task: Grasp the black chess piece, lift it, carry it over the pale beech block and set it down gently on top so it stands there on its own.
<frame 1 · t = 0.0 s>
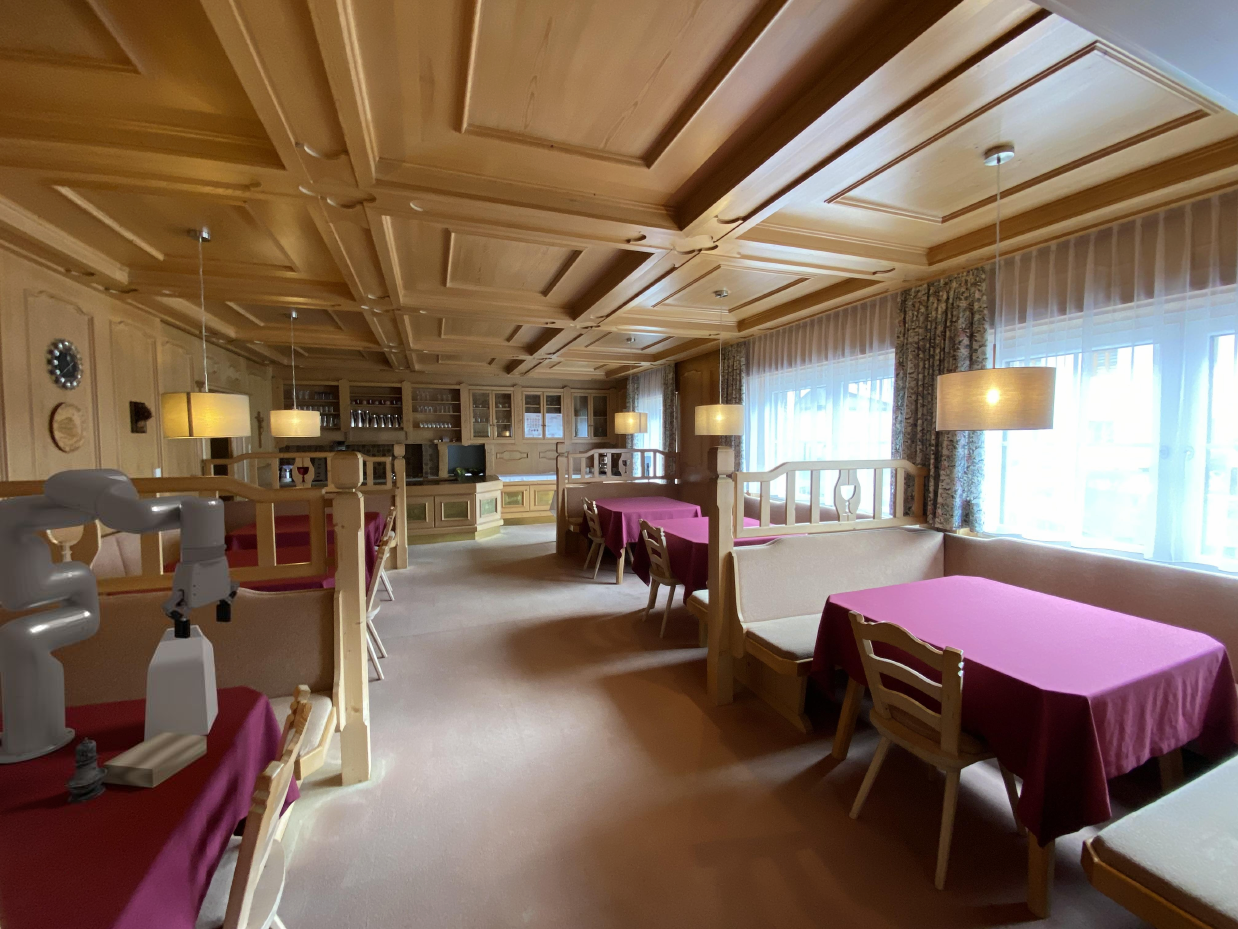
hand: (203, 629, 111), 31 cm above the table, fingers open, 9 cm apart
black chess piece: (87, 795, 103), on the table
beech block: (157, 766, 111), on the table
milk: (183, 729, 126), on the table
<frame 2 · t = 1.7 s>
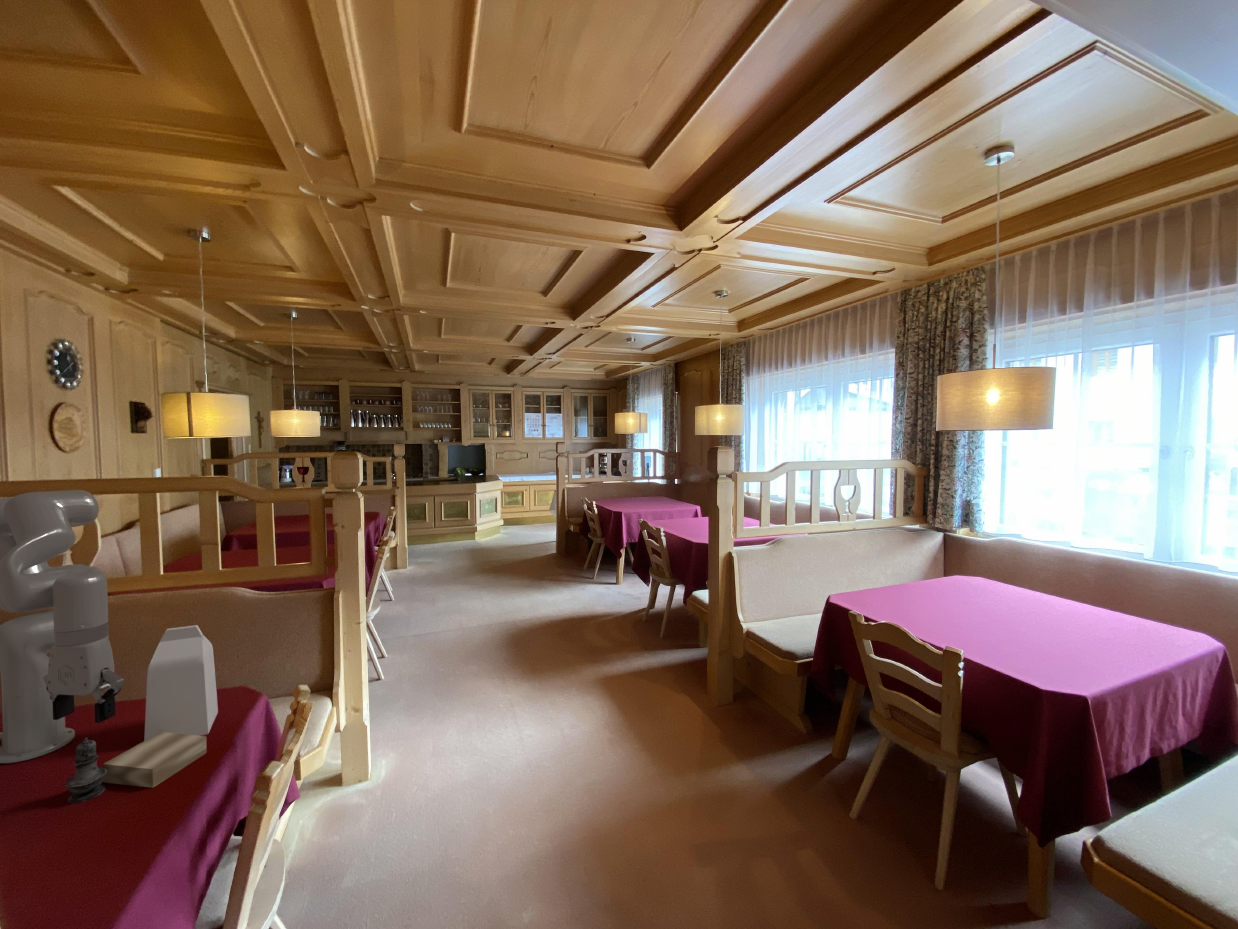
hand: (84, 718, 101), 16 cm above the table, fingers open, 9 cm apart
nothing on the table moved.
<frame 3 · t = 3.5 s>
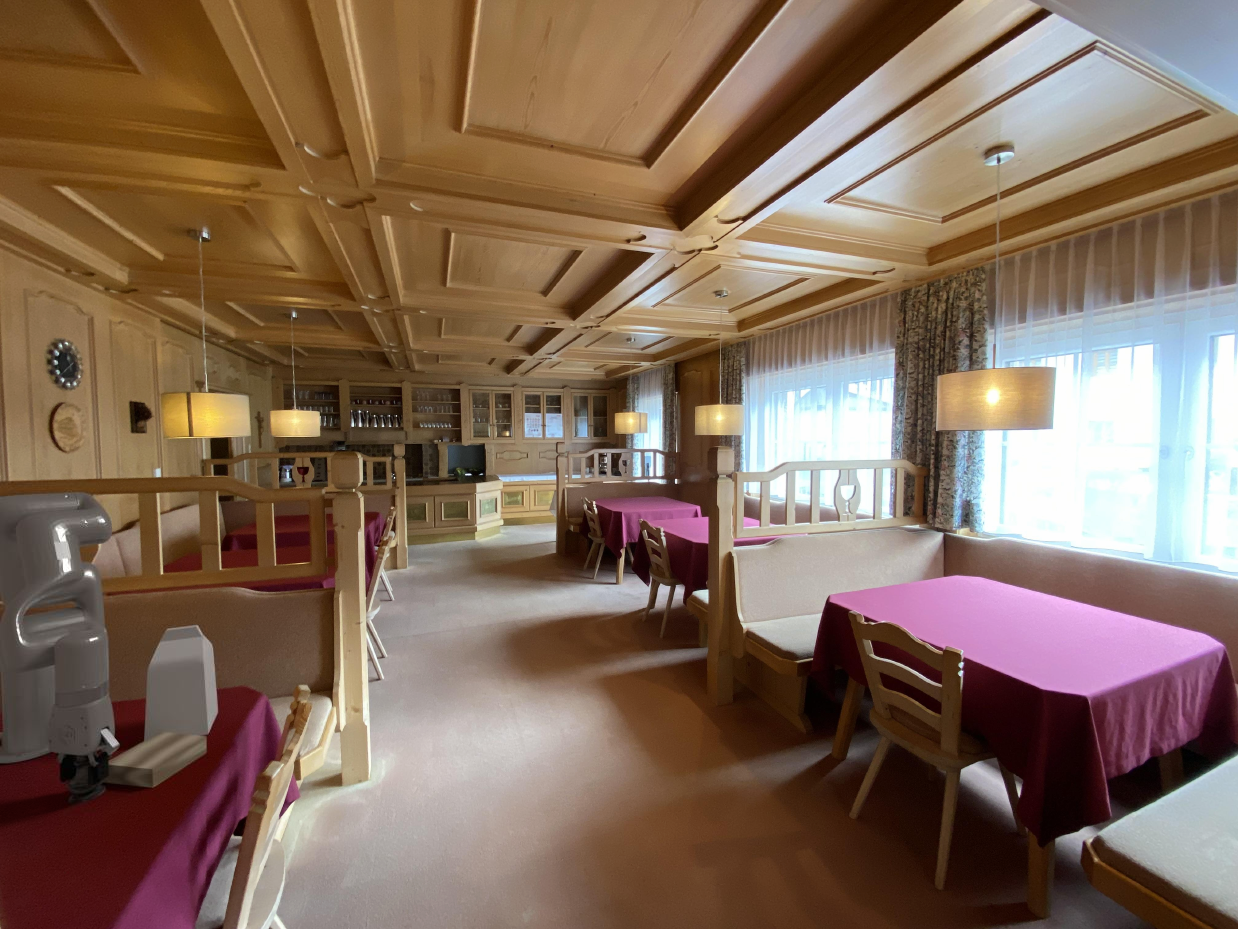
hand: (84, 778, 102), 4 cm above the table, fingers closed on black chess piece, 5 cm apart
black chess piece: (87, 795, 103), on the table, touching gripper
everything else where it was.
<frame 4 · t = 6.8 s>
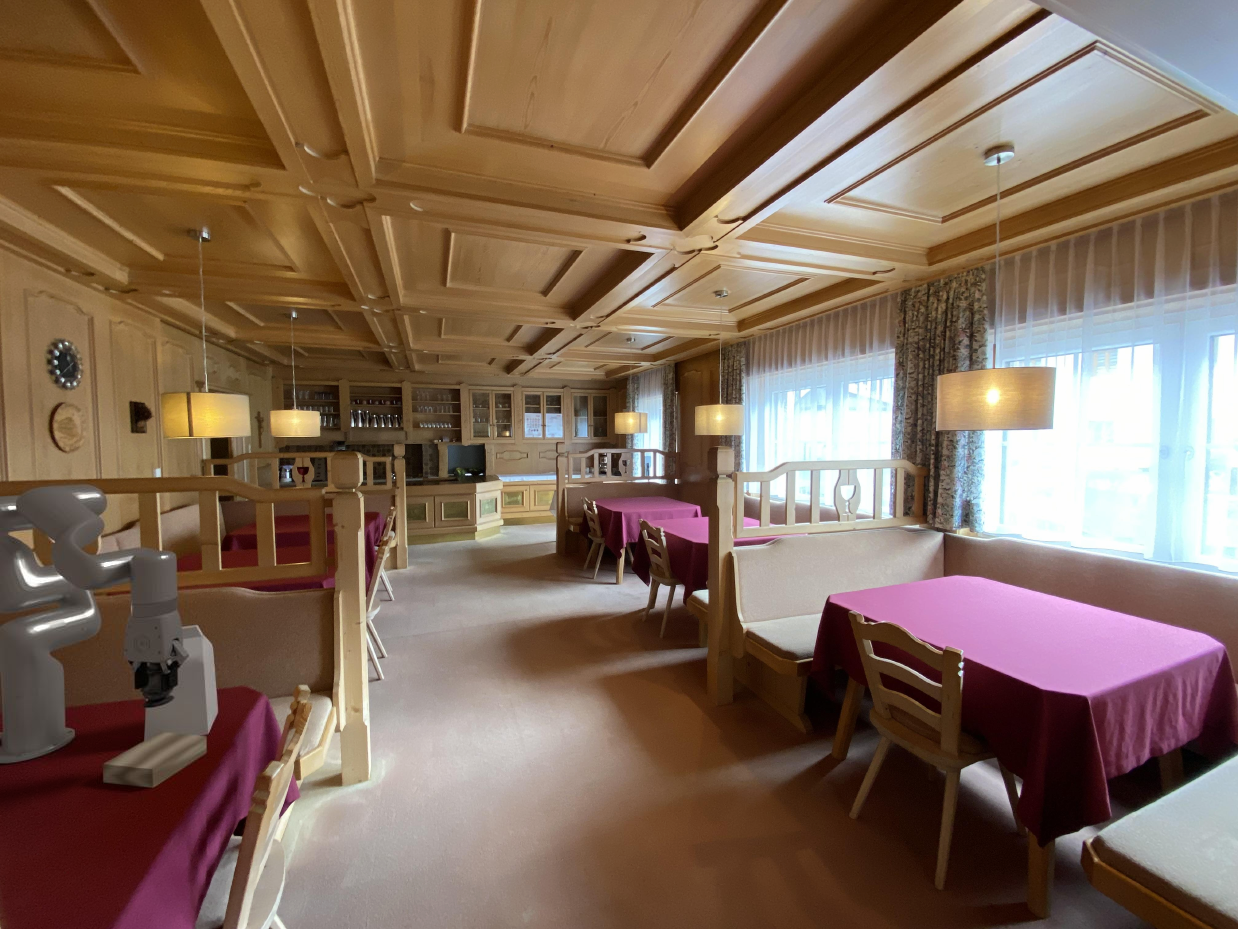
hand: (156, 686, 111), 18 cm above the table, fingers closed on black chess piece, 5 cm apart
black chess piece: (158, 702, 111), point 15 cm above the table, touching gripper
everything else where it was.
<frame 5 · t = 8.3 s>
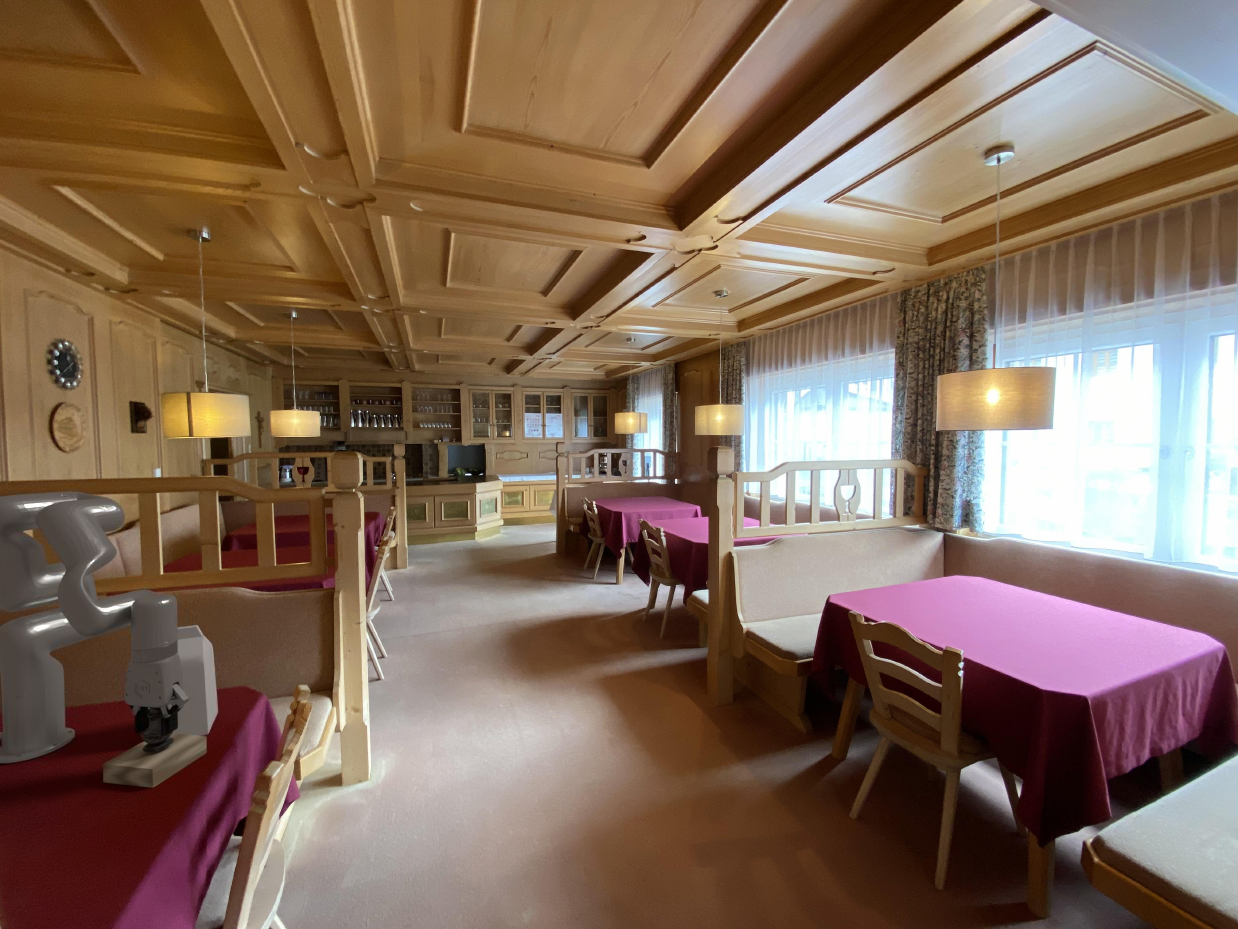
hand: (156, 730, 111), 8 cm above the table, fingers closed on black chess piece, 5 cm apart
black chess piece: (158, 745, 112), point 5 cm above the table, touching gripper
everything else where it was.
when the fingers open (8 cm above the table, at t = 9.7 s): black chess piece stays where it is, resting on beech block.
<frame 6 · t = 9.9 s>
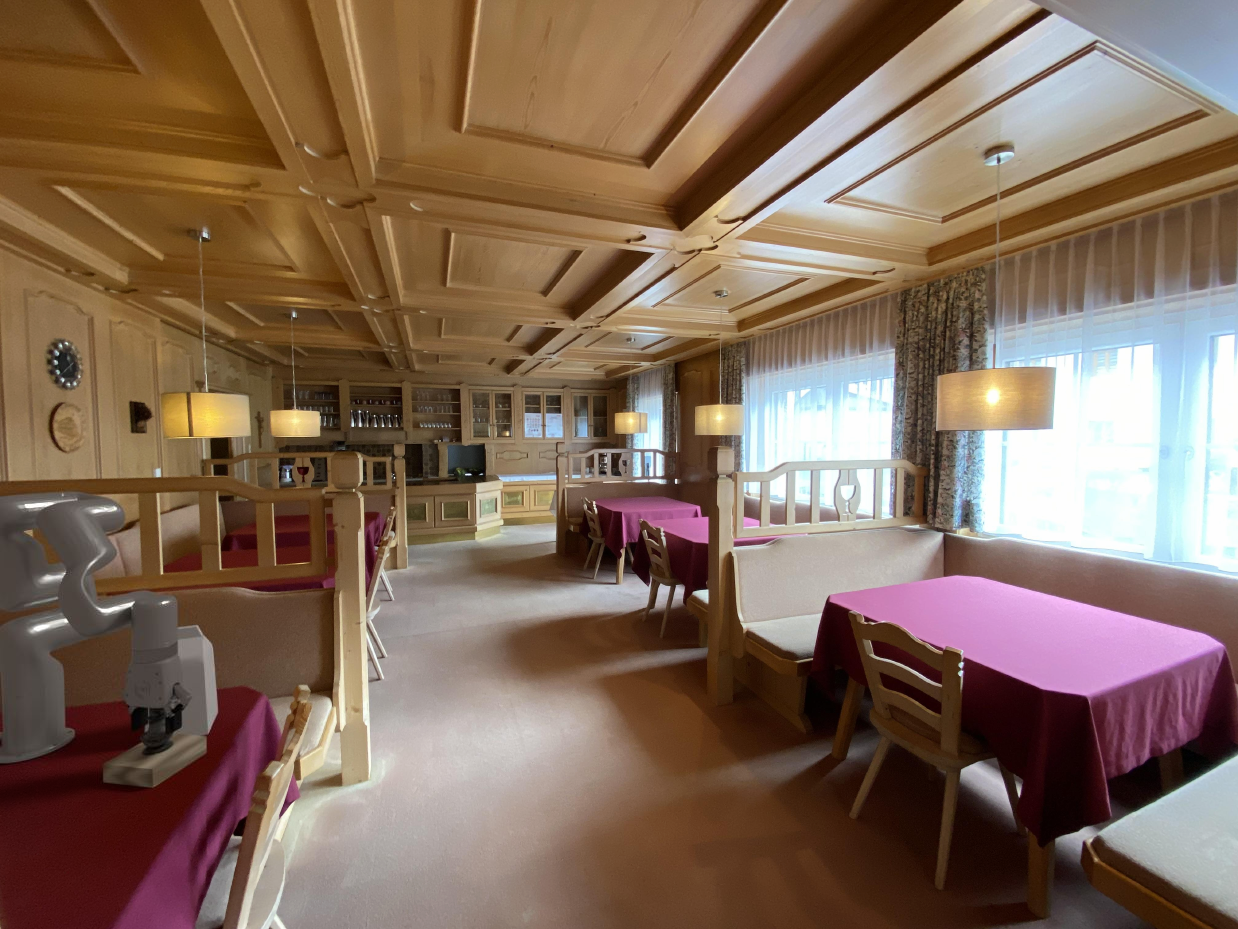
hand: (156, 729, 111), 9 cm above the table, fingers open, 8 cm apart
black chess piece: (158, 749, 112), point 4 cm above the table, touching beech block
everything else where it was.
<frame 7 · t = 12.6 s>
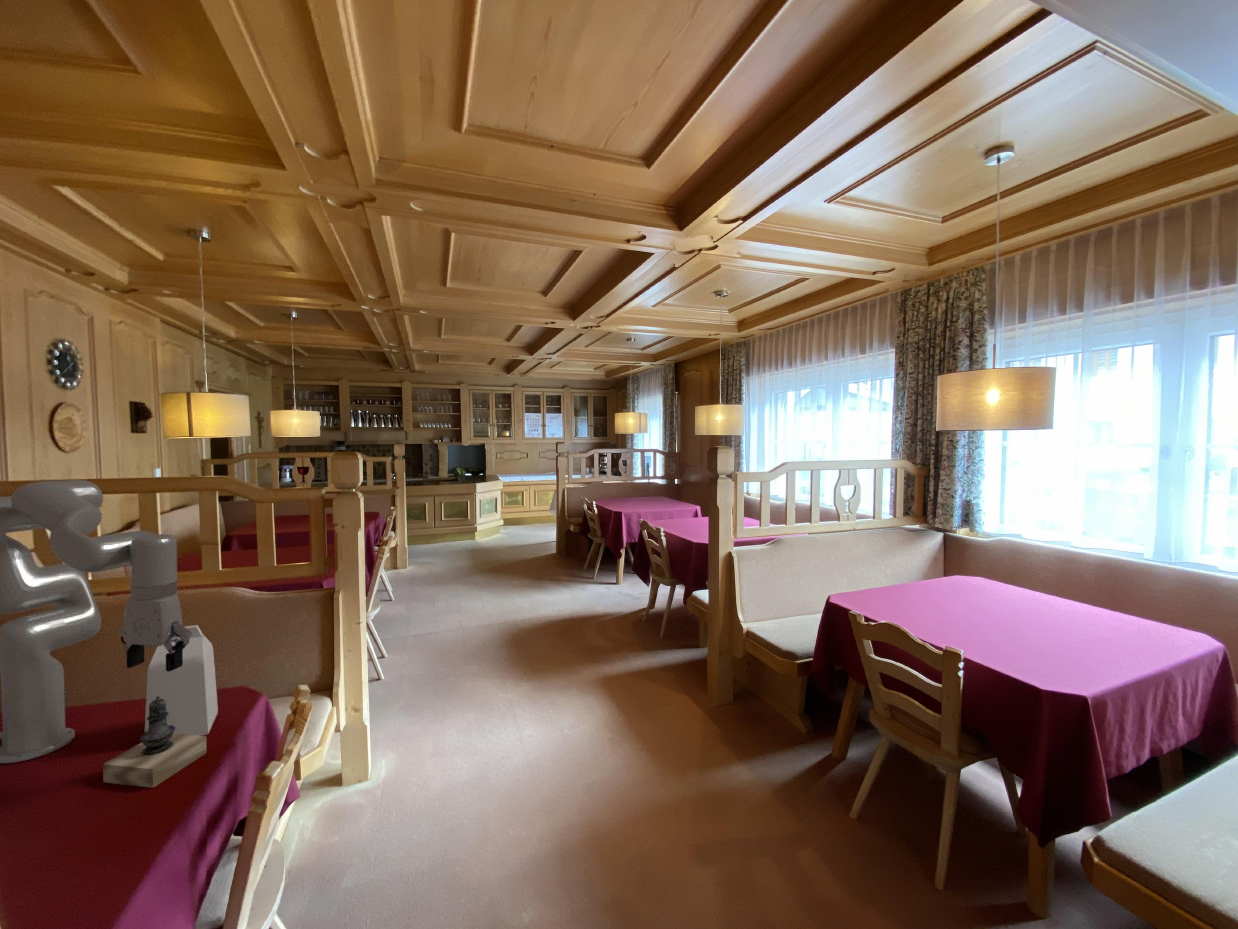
hand: (154, 667, 111), 23 cm above the table, fingers open, 9 cm apart
nothing on the table moved.
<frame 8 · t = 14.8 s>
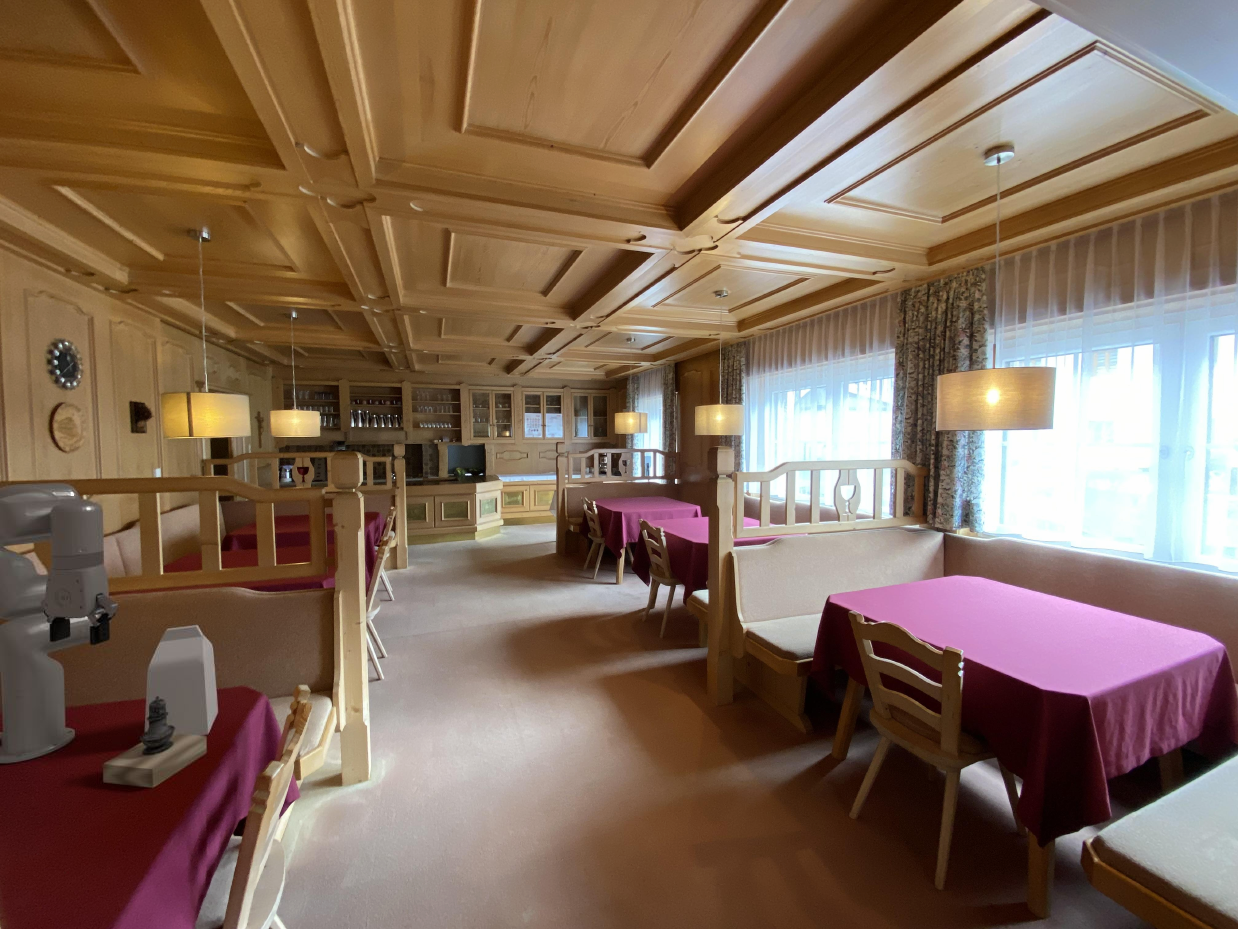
hand: (80, 641, 106), 30 cm above the table, fingers open, 9 cm apart
nothing on the table moved.
at the end: black chess piece inside the target area on the beech block (0.6 cm from its centre), point 3.8 cm above the beech block's base; black chess piece tilted 0°; the gripper is holding nothing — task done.
